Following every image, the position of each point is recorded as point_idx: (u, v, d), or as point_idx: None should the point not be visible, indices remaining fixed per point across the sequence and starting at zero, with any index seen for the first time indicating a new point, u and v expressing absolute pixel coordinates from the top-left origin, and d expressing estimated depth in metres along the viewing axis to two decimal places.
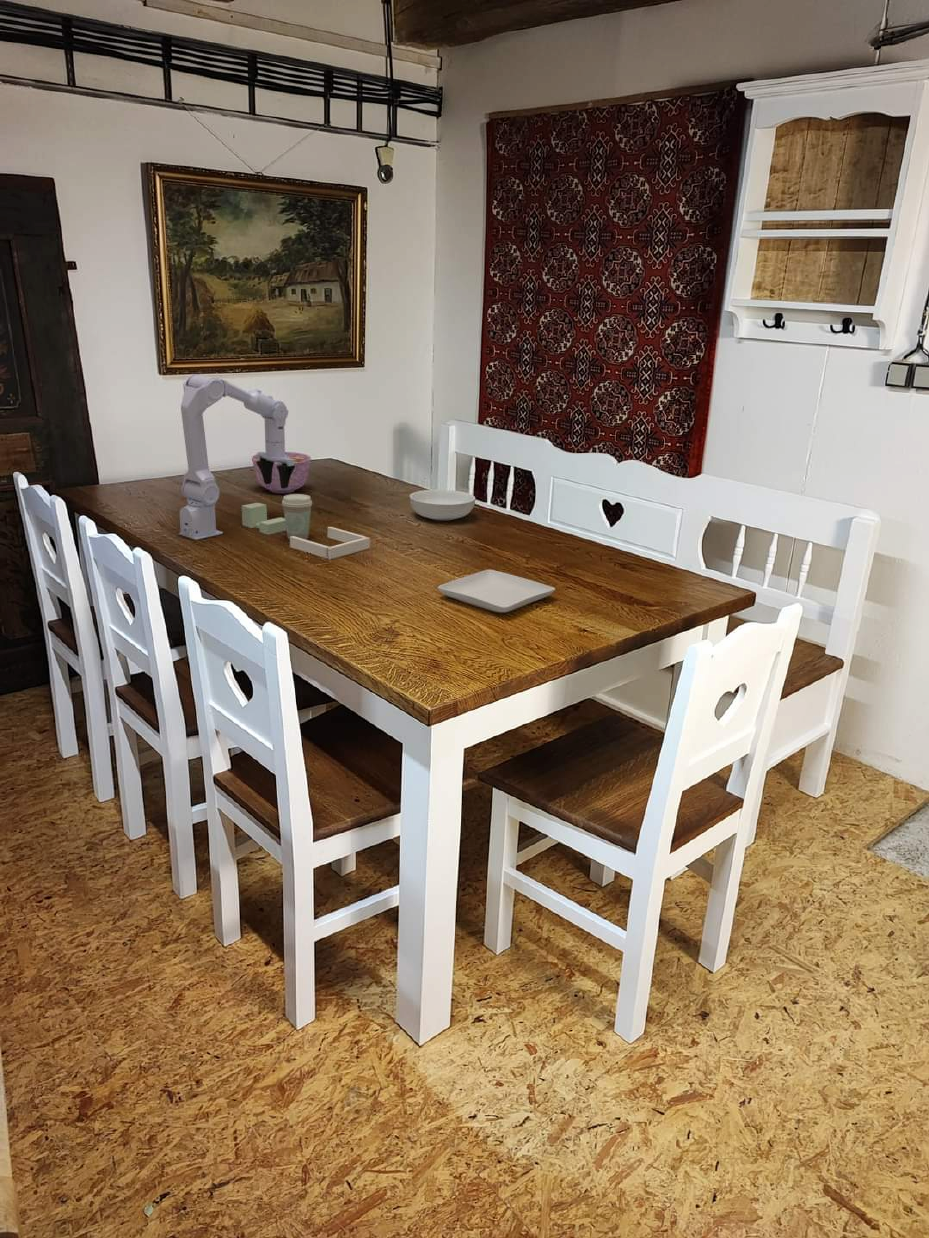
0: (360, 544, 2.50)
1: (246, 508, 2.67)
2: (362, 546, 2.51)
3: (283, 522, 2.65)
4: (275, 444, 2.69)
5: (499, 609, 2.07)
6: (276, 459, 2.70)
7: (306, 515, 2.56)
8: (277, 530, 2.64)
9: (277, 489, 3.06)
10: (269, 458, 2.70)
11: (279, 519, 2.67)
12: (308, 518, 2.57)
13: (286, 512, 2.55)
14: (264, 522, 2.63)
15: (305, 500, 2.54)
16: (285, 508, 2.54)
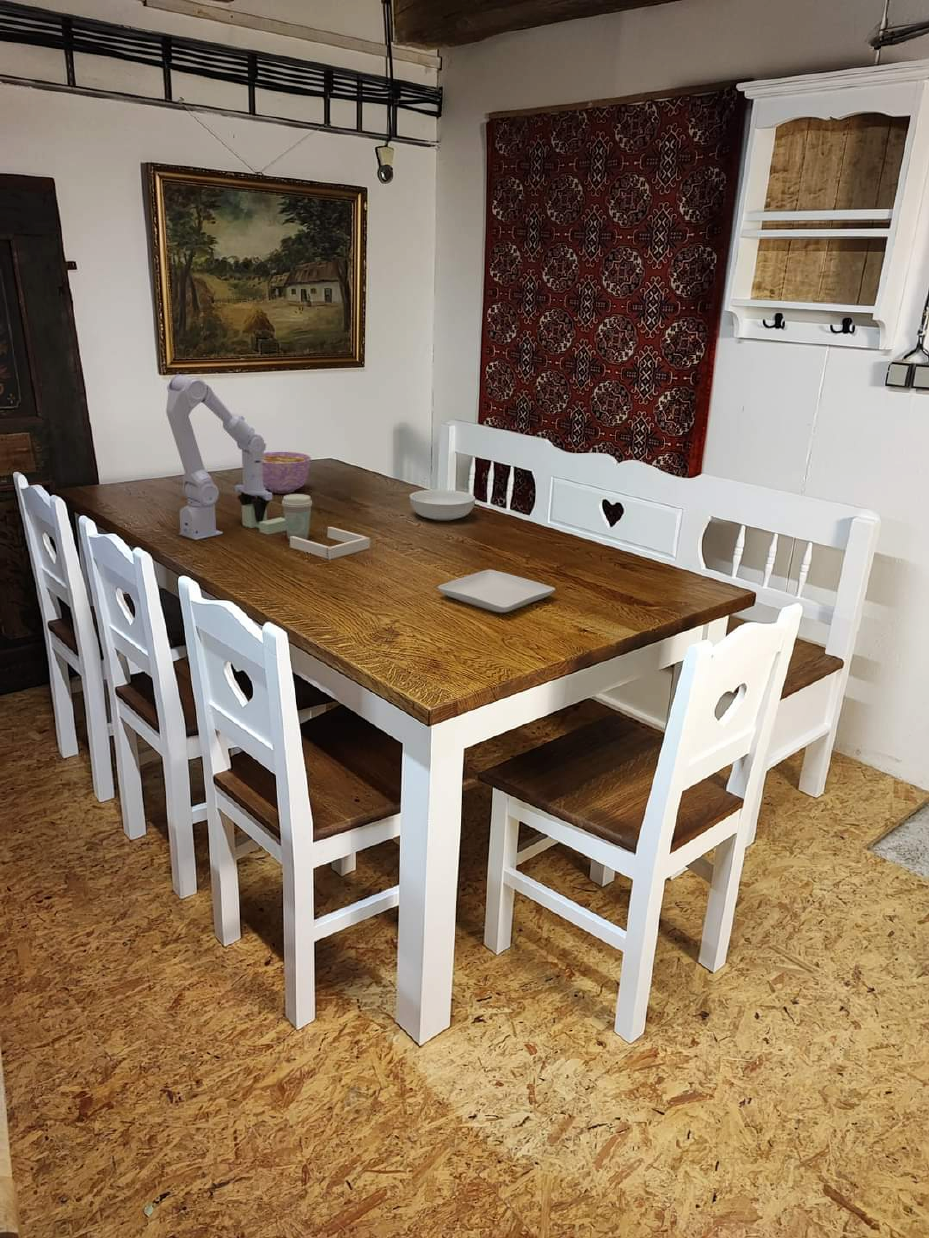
0: (360, 544, 2.50)
1: (246, 508, 2.67)
2: (362, 546, 2.51)
3: (283, 522, 2.65)
4: (253, 478, 2.63)
5: (499, 609, 2.07)
6: (254, 493, 2.64)
7: (306, 515, 2.56)
8: (277, 530, 2.64)
9: (277, 489, 3.06)
10: (247, 492, 2.65)
11: (279, 519, 2.67)
12: (308, 518, 2.57)
13: (286, 512, 2.55)
14: (264, 522, 2.63)
15: (305, 500, 2.54)
16: (285, 508, 2.54)
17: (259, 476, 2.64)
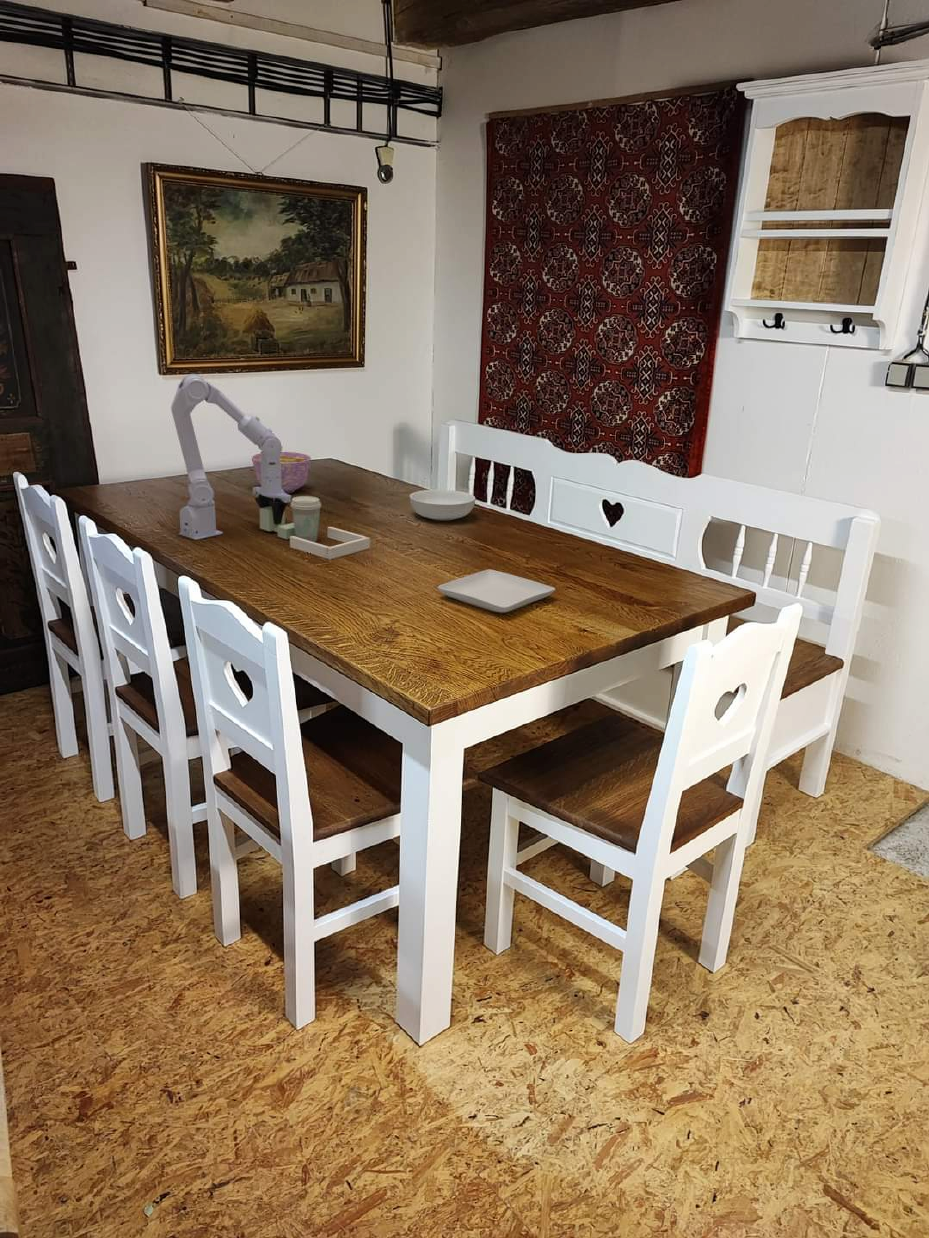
0: (360, 544, 2.50)
1: (264, 511, 2.62)
2: (362, 546, 2.51)
3: None
4: (271, 480, 2.58)
5: (499, 609, 2.07)
6: (272, 495, 2.59)
7: (315, 517, 2.54)
8: None
9: None
10: (265, 494, 2.60)
11: None
12: (317, 520, 2.55)
13: (295, 514, 2.53)
14: (283, 526, 2.58)
15: (314, 502, 2.52)
16: (294, 510, 2.52)
17: (277, 478, 2.59)
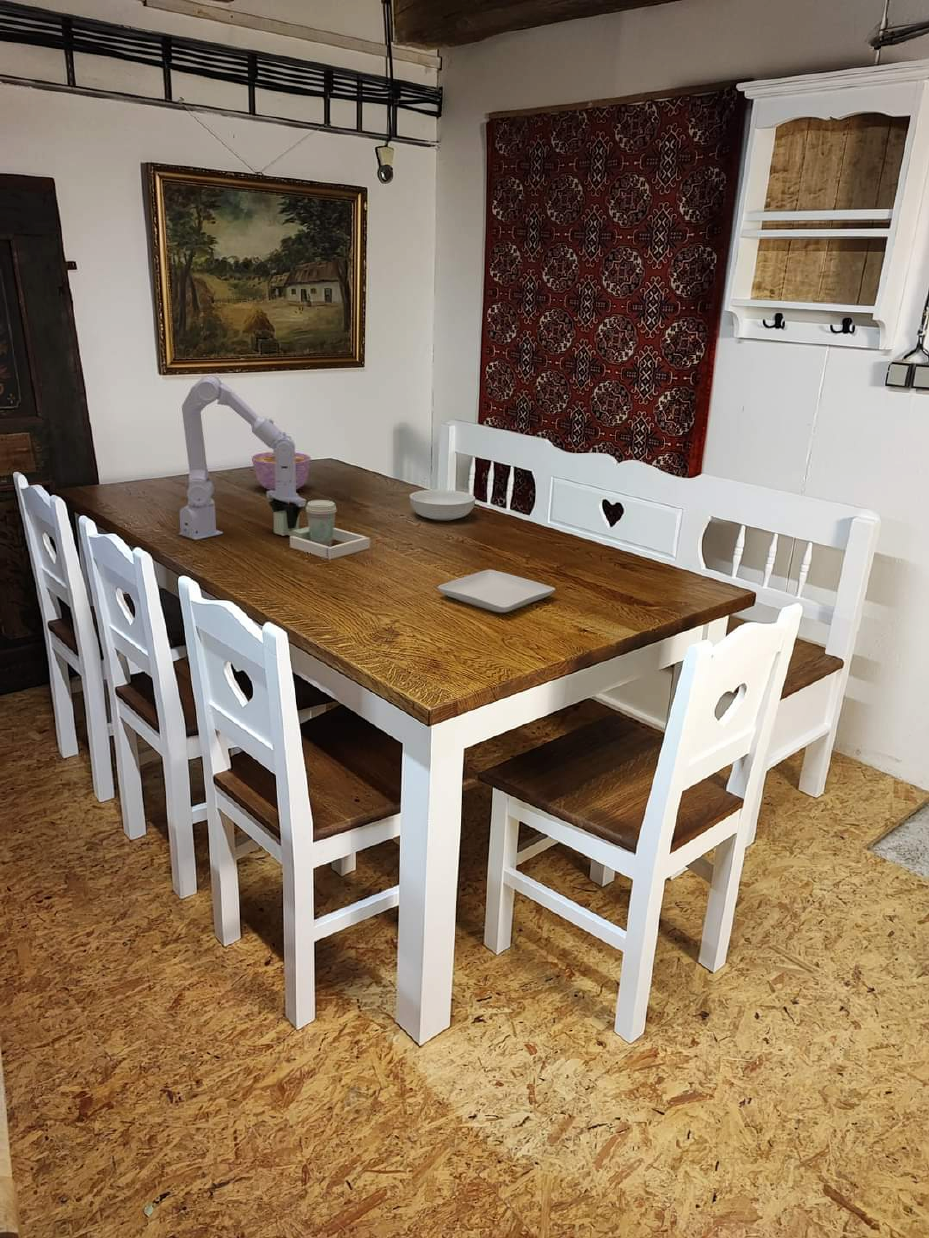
0: (360, 544, 2.50)
1: (278, 515, 2.58)
2: (362, 546, 2.51)
3: None
4: (286, 484, 2.55)
5: (499, 609, 2.07)
6: (287, 499, 2.56)
7: (330, 522, 2.50)
8: None
9: None
10: (279, 498, 2.56)
11: None
12: (332, 525, 2.51)
13: (310, 519, 2.49)
14: (297, 530, 2.55)
15: (330, 506, 2.48)
16: (309, 514, 2.49)
17: (292, 482, 2.56)
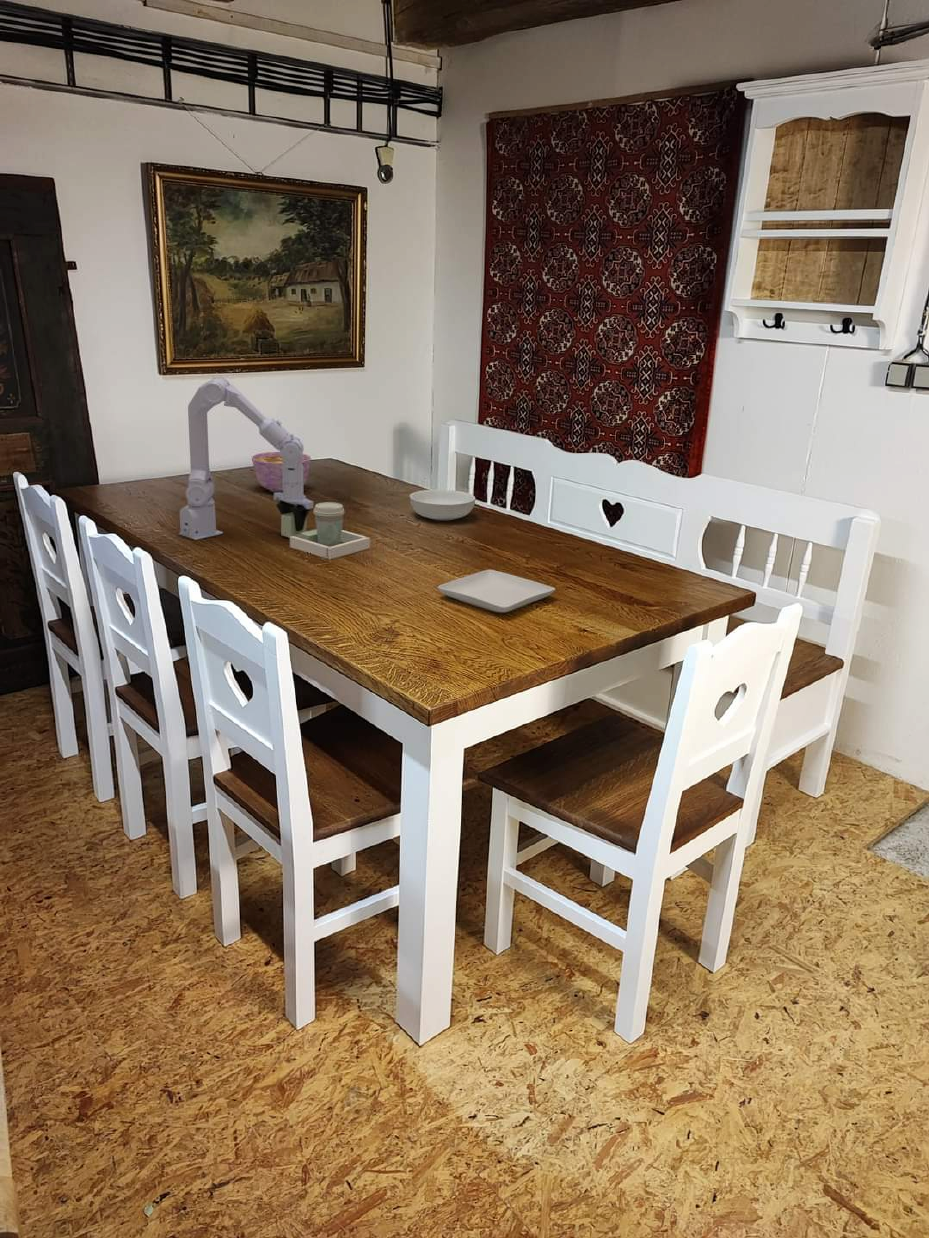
0: (360, 544, 2.50)
1: (286, 517, 2.56)
2: (362, 546, 2.51)
3: None
4: (293, 486, 2.53)
5: (499, 609, 2.07)
6: (294, 501, 2.54)
7: (339, 524, 2.48)
8: None
9: (277, 489, 3.06)
10: (287, 500, 2.54)
11: None
12: (340, 527, 2.50)
13: (318, 521, 2.47)
14: (305, 533, 2.53)
15: (338, 509, 2.46)
16: (317, 517, 2.47)
17: (300, 484, 2.54)
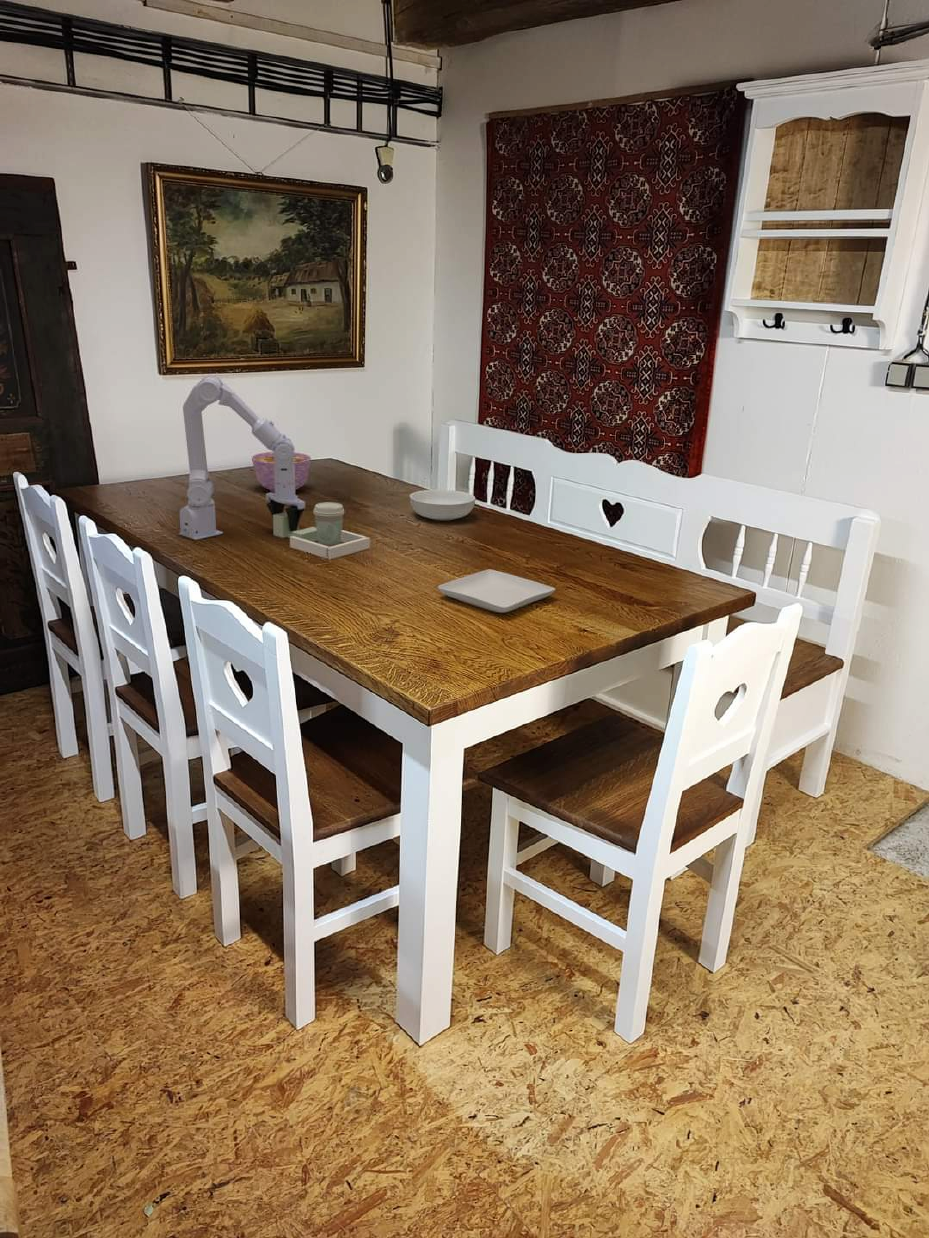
0: (360, 544, 2.50)
1: (278, 517, 2.59)
2: (362, 546, 2.51)
3: (316, 532, 2.57)
4: (285, 486, 2.55)
5: (499, 609, 2.07)
6: (286, 502, 2.56)
7: (339, 524, 2.48)
8: (310, 540, 2.56)
9: None
10: (279, 500, 2.57)
11: (312, 528, 2.59)
12: (340, 527, 2.50)
13: (318, 521, 2.47)
14: (297, 532, 2.55)
15: (338, 509, 2.46)
16: (317, 517, 2.47)
17: (291, 484, 2.56)
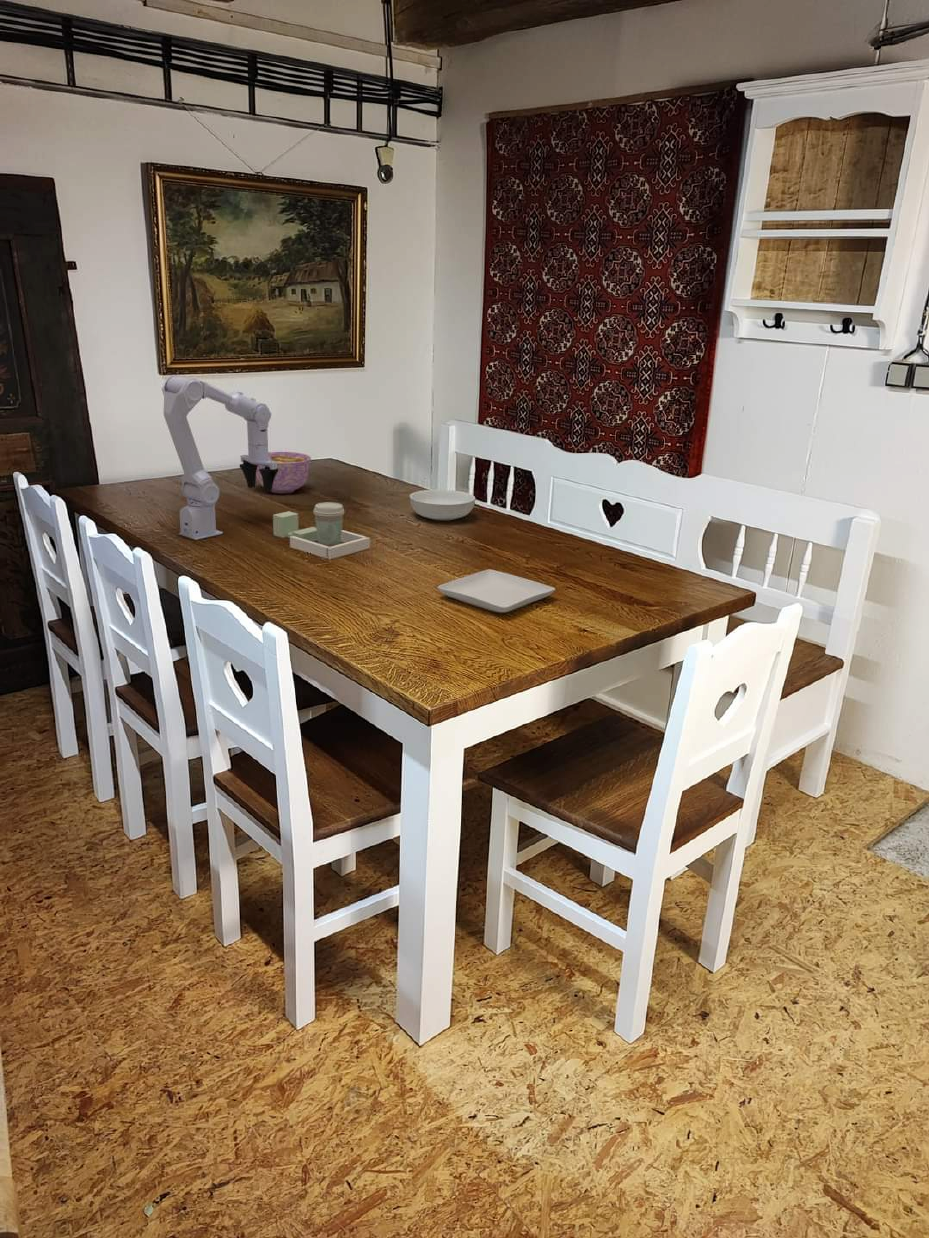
0: (360, 544, 2.50)
1: (278, 517, 2.59)
2: (362, 546, 2.51)
3: (316, 532, 2.57)
4: (258, 447, 2.64)
5: (499, 609, 2.07)
6: (259, 462, 2.64)
7: (339, 524, 2.48)
8: (310, 540, 2.56)
9: (277, 489, 3.06)
10: (252, 461, 2.65)
11: (312, 528, 2.59)
12: (340, 527, 2.50)
13: (318, 521, 2.47)
14: (297, 532, 2.55)
15: (338, 509, 2.46)
16: (317, 517, 2.47)
17: (264, 445, 2.65)
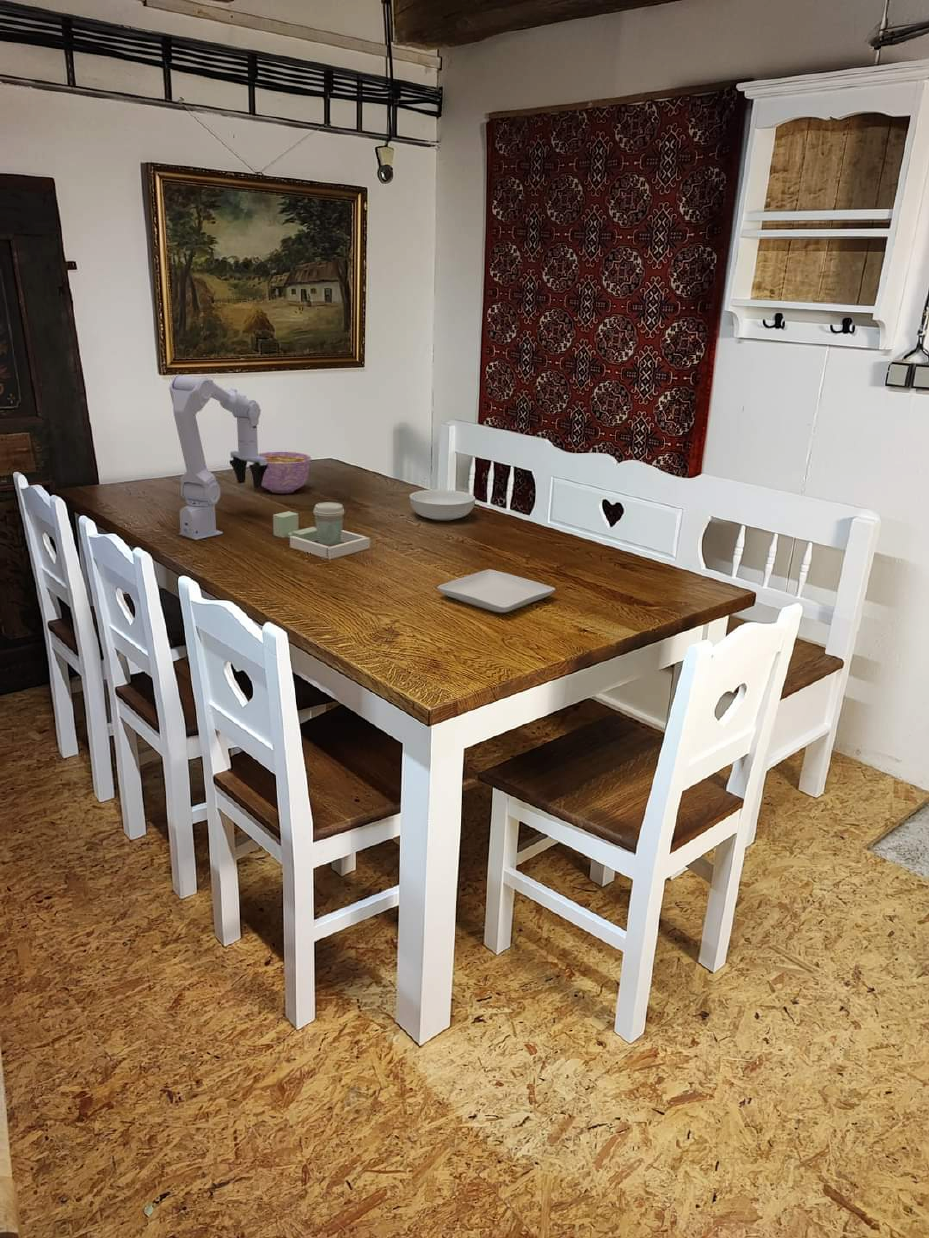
0: (360, 544, 2.50)
1: (278, 517, 2.59)
2: (362, 546, 2.51)
3: (316, 532, 2.57)
4: (247, 443, 2.68)
5: (499, 609, 2.07)
6: (249, 458, 2.69)
7: (338, 524, 2.48)
8: (310, 540, 2.56)
9: (277, 489, 3.06)
10: (242, 457, 2.70)
11: (312, 528, 2.59)
12: (340, 527, 2.50)
13: (318, 521, 2.47)
14: (297, 532, 2.55)
15: (338, 509, 2.46)
16: (317, 517, 2.47)
17: (254, 442, 2.69)
